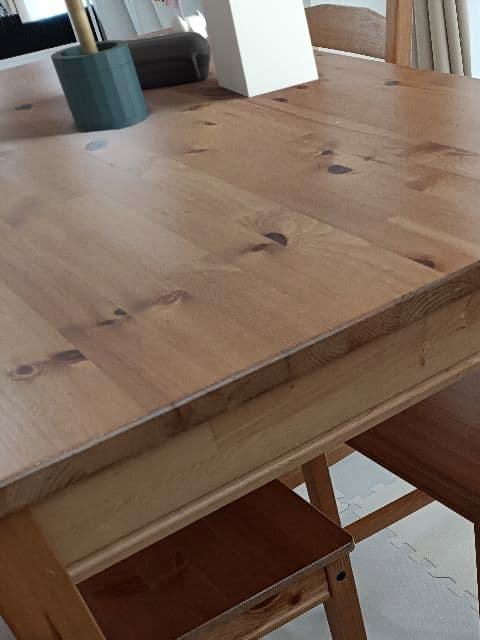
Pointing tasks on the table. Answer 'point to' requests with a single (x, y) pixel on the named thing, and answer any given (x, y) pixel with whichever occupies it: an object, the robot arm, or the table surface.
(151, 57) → the glasses case
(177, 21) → the elephant figurine
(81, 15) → the brush
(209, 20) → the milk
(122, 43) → the jar
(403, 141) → the table surface
